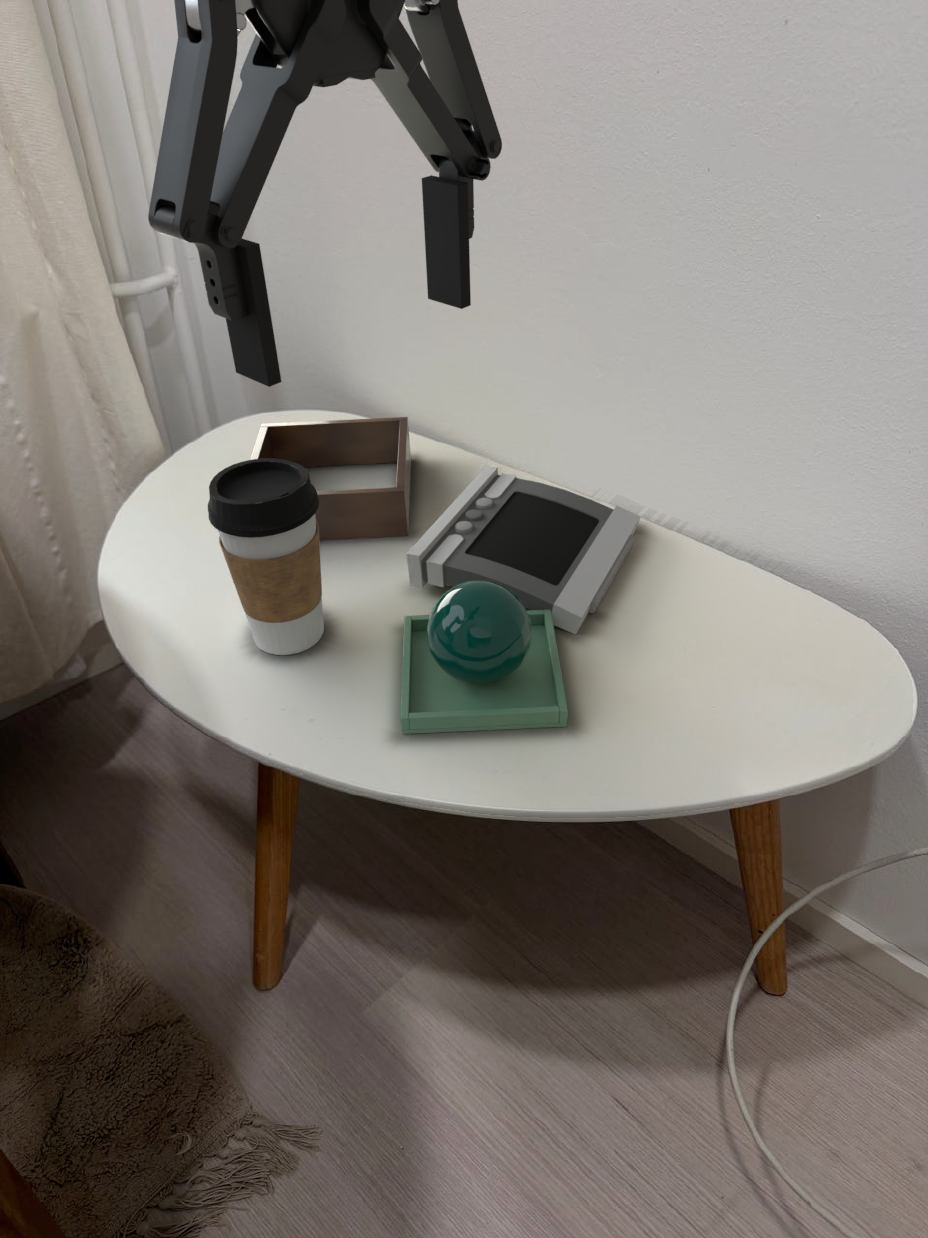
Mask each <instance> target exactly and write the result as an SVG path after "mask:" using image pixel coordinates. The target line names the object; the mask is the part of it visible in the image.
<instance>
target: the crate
mask: <svg viewBox="0 0 928 1238" xmlns="http://www.w3.org/2000/svg"><path fill="white" fill-rule="evenodd" d="M409 428H410V427H409V418H408V416H399V417H397V416H396V417H379V418H378V417H377V418H375V417H374V418H358V419H357V418H356V419H355V418H354V419H335V420H334V419H333V420H332V419H331V420H313V421H312V420H311V421H291V422H289V421H288V422H269V423H261V425H260V428H259V432H258V435H257V437H256V440H255V444H254V447H253V450H252V453H251V456H250V459H249V460H253V459H262V458H273V459H282V460H288V461H291V462H295V463H297V464H299V465H301V466H303V467H304V468H308V467H309V468H311V467H327V466H328V467H329V466H351V465H353V466H354V465H372V464H373V465H374V464H375V465H376V464H395V463H397V464H396V480H395V481H396V482H395V487H375V488H353V489H352V488H351V489H332V490H316V491H317V495H318V497H319V508H318V509H317V511H316V513H315V517H316V520H317V522H318V526H319V541H325V540H345V539H346V540H347V539H365V538H366V539H368V538H369V539H370V538H388V537H389V538H390V537H391V538H392V537H408V536H409V526H410V525H409V521H410V496H411V494H410V493H411V472H412V470H411V469H412V468H411V466H412V454H411V452H412V451H411V442H410V441H411V440H410V429H409Z"/></svg>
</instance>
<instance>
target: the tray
mask: <svg viewBox="0 0 928 1238" xmlns="http://www.w3.org/2000/svg"><path fill="white" fill-rule="evenodd" d="M526 611H527V613H528V615H529V618H530V621H531V628H532V631H531V642H530V648H529V651H528V653H527V655H526V656H525V658H524V660H523V661H522V663H521V665H520V666H519V667H518V668H517V670H515V671H514V672H513V673H512V674H510V675H509V676H508V677H506V678H505V679H502V680H500V681H498V682H495V683H491V684H486V685H471V684H467V683H464V682H460V681H458V680H456V679H454V678H453V677H451V676H449V675H448V674H446V673H445V672H444V671H443V670H442V669H441V667H440V666H439V665H438V664H437V663H436V661H435V660H434V658H433V656H432V654H431V651H430V648H429V644H428V640H427V626H428V622H429V617H430V614H421V615H420V614H419V615H405V616H403V617H404V618H403V619H404V620H403V642H402V643H403V644H402V645H403V646H402V669H401V670H402V673H401V697H400V698H401V699H400V700H401V701H400V724H401V725H400V726H401V734H402V735H410V734H411V735H412V734H414V735H415V734H434V733H435V734H436V733H437V734H438V733H455V732H456V733H457V732H458V733H459V732H479V731H502V730H520V729H543V728H544V729H545V728H560V727H561V728H564V727H568V713H569V710H568V704H567V698H566V691H565V686H564V679H563V675H562V668H561V662H560V656H559V650H558V644H557V638H556V631H555V626H554V625H553V620H552V614H551V610H548V609H547V610H530V609H526Z"/></svg>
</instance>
